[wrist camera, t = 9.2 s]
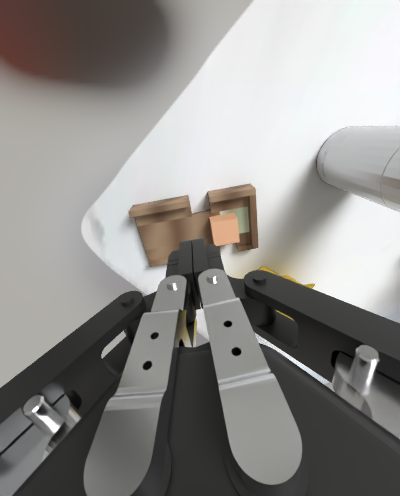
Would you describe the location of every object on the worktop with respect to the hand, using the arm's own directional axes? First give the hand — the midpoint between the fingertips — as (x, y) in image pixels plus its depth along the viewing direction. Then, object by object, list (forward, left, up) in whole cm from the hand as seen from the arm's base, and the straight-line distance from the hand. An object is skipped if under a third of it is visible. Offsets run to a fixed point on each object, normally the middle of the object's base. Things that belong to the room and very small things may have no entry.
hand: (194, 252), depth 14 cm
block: (-4, +10, -26) cm, 28 cm away
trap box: (+1, +10, -27) cm, 29 cm away
